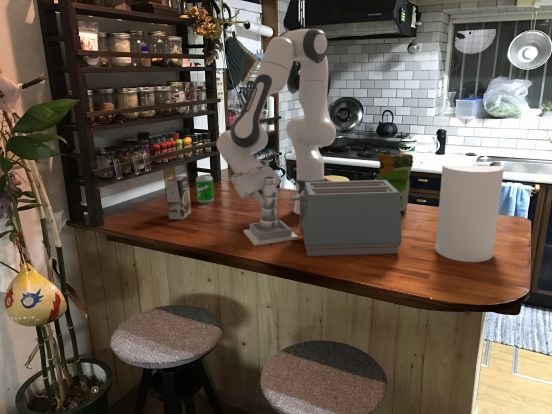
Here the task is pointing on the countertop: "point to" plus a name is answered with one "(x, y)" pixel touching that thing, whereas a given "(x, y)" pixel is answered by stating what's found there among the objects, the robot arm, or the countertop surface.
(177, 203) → the coffee box
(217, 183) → the countertop surface
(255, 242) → the bottle holder
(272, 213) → the plastic bottle
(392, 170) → the pouch
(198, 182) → the soda can
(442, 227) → the cylinder
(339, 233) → the toaster
